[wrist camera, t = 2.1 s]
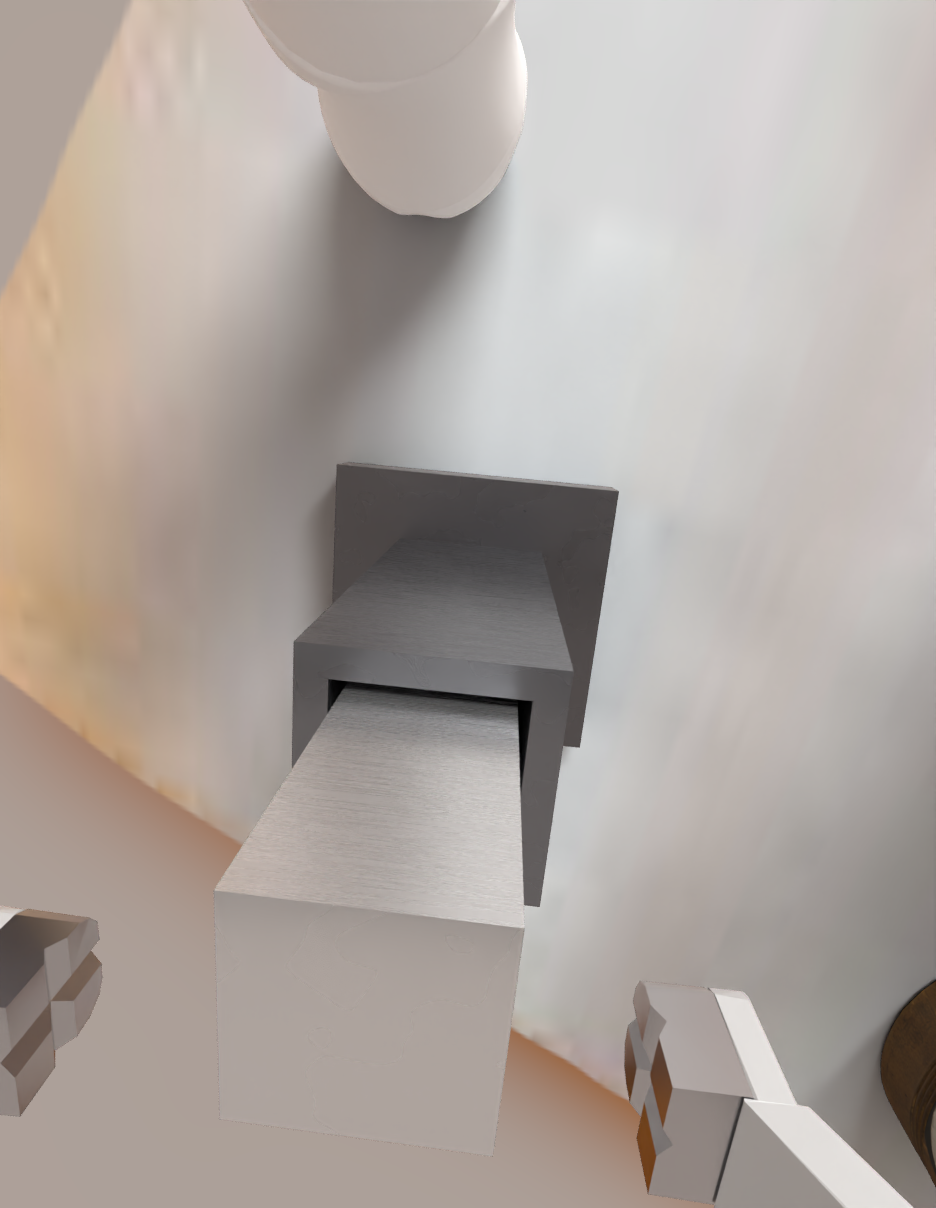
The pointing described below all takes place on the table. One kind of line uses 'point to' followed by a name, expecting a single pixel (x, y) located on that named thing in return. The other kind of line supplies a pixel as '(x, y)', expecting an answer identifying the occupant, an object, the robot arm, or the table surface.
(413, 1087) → the column
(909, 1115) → the wooden container
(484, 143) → the water bottle
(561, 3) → the table surface
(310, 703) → the stand
